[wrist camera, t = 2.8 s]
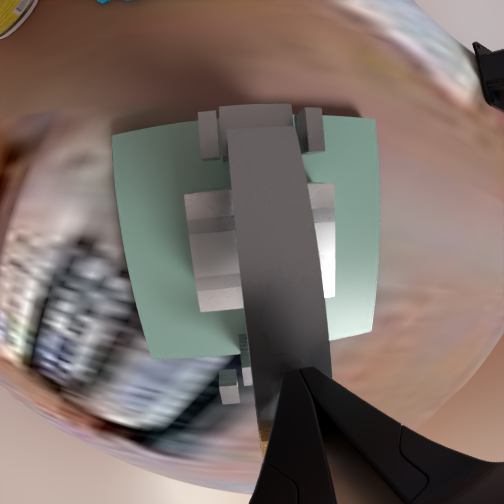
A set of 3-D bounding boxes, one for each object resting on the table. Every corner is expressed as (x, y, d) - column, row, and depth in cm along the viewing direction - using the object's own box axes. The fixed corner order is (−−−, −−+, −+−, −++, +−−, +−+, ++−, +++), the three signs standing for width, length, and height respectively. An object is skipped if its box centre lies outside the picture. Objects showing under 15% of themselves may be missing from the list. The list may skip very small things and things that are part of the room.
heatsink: (313, 181, 13) (334, 183, 11) (315, 275, 15) (334, 296, 12) (192, 191, 13) (184, 194, 10) (204, 287, 14) (200, 312, 12)
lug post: (285, 318, 17) (310, 374, 11) (286, 334, 17) (309, 392, 12) (219, 325, 16) (219, 386, 11) (221, 341, 17) (222, 404, 11)
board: (365, 122, 14) (375, 119, 13) (363, 322, 17) (371, 331, 16) (119, 138, 13) (111, 135, 12) (155, 348, 16) (152, 359, 15)
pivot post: (285, 122, 14) (319, 94, 8) (288, 160, 14) (325, 151, 9) (206, 127, 13) (196, 98, 8) (209, 165, 14) (200, 158, 9)
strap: (226, 141, 10) (225, 115, 8) (291, 138, 10) (299, 113, 8) (260, 447, 8) (265, 471, 6) (327, 435, 8) (342, 455, 6)
